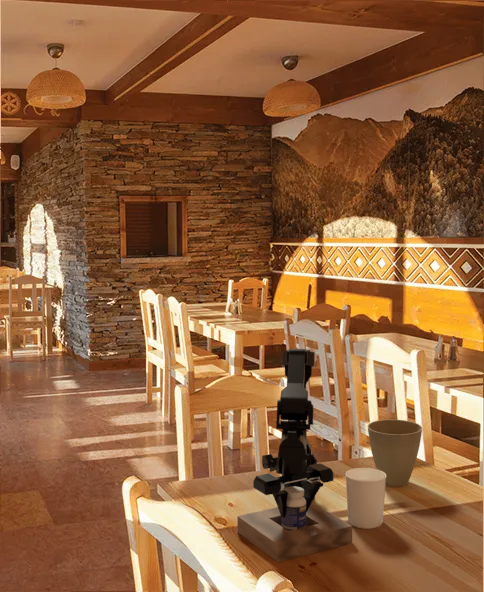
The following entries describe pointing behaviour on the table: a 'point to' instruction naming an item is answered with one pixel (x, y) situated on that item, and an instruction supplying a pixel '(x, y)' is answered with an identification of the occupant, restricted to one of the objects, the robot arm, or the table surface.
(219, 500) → the table surface
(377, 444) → the plant pot
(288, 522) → the pill bottle
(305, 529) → the well block
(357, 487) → the candle holder
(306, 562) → the table surface
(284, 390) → the robot arm
